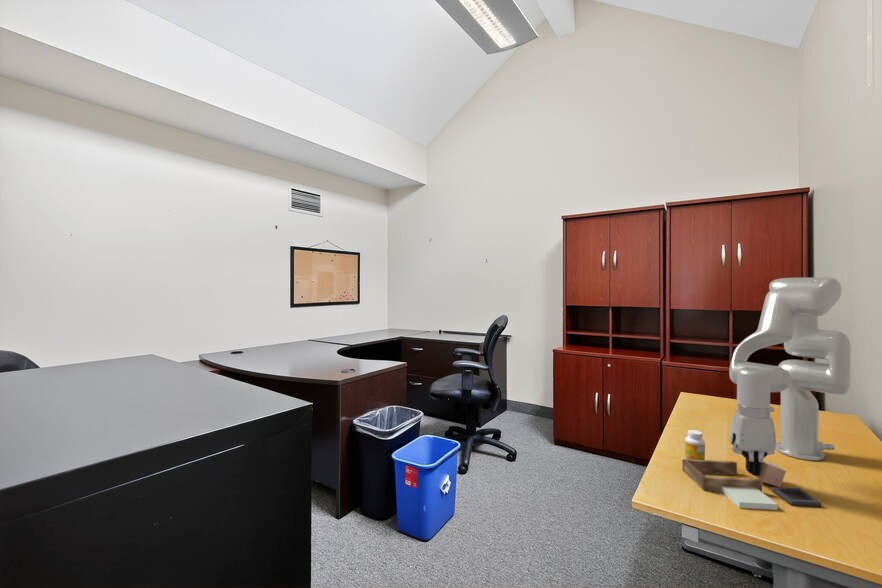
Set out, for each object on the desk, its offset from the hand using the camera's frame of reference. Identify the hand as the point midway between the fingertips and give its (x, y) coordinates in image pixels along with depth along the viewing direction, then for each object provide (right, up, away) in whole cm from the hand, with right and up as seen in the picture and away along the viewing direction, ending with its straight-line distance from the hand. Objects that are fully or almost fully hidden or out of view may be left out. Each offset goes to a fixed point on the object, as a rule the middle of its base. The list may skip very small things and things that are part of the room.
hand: (753, 473), depth 114 cm
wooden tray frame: (-9, -3, +1) cm, 9 cm away
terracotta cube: (+3, -2, 0) cm, 4 cm away
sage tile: (-9, -3, -9) cm, 13 cm away
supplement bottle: (-8, -3, +14) cm, 16 cm away
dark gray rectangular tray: (+4, -3, -9) cm, 10 cm away
